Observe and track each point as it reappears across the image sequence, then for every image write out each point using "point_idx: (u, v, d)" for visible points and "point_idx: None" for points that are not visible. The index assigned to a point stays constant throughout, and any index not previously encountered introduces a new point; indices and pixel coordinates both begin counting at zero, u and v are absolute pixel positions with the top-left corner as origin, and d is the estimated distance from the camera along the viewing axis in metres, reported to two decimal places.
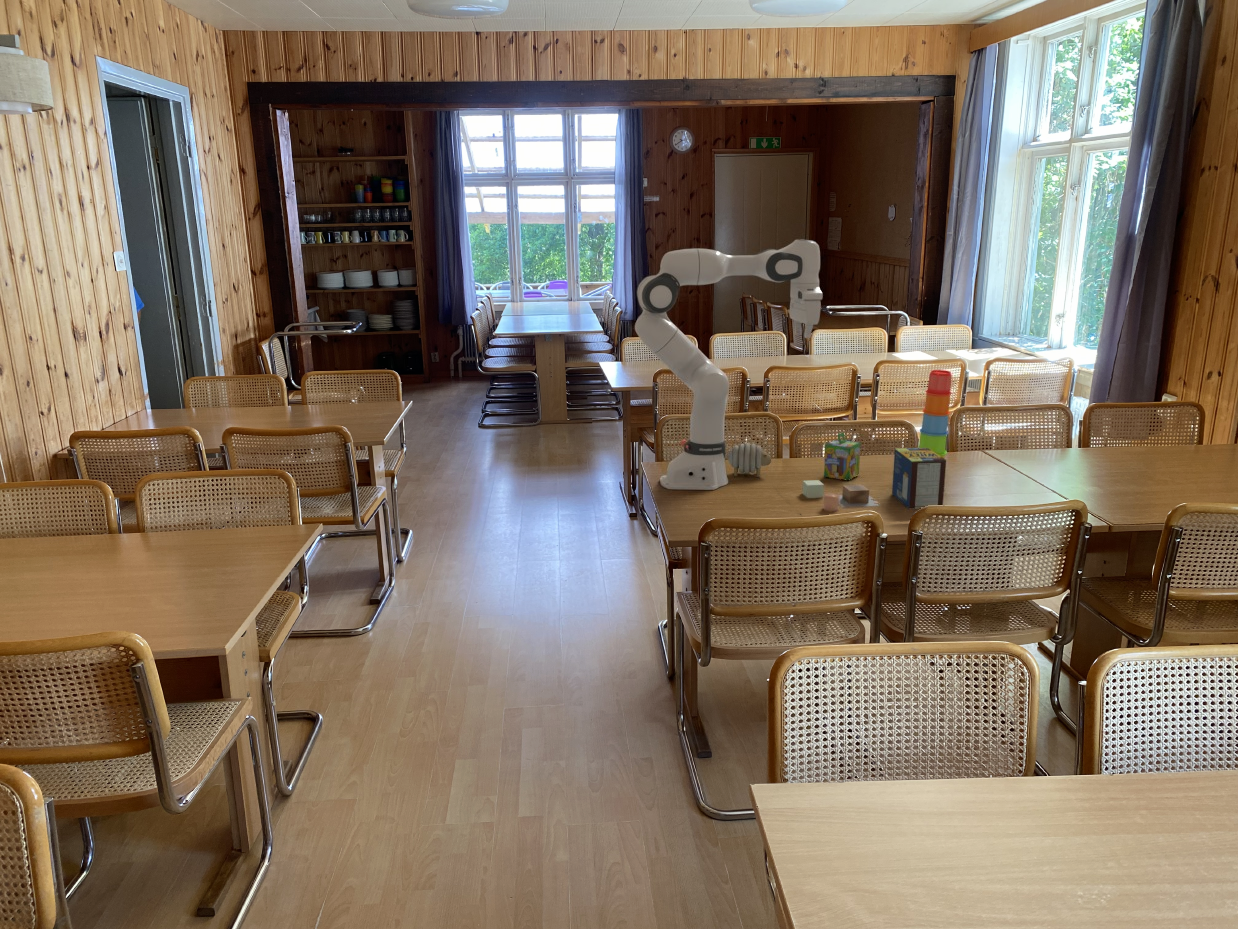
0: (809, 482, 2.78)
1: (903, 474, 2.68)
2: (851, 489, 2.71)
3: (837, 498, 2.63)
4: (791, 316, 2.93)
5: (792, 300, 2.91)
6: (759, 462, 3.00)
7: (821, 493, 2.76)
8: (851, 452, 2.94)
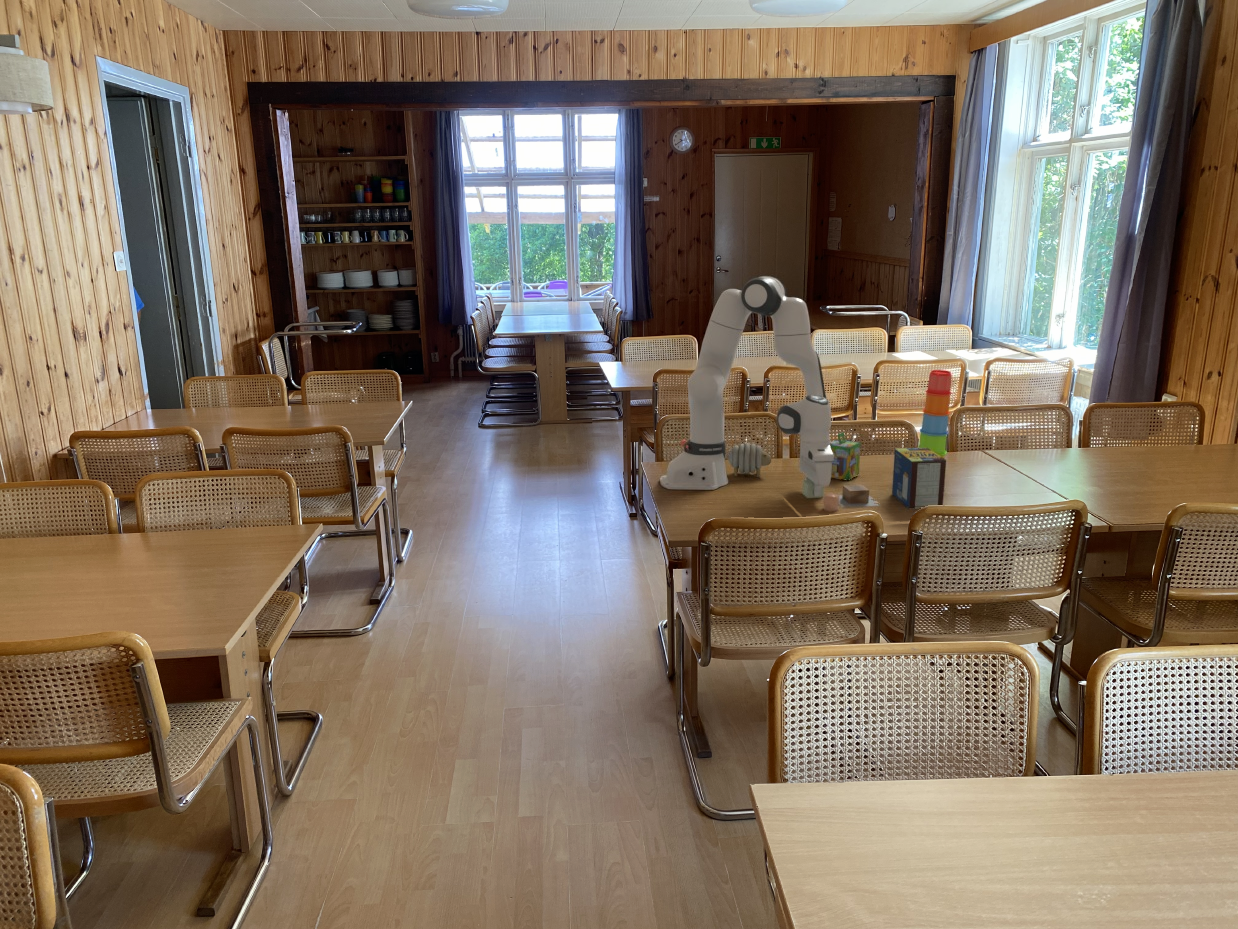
0: (809, 482, 2.78)
1: (903, 474, 2.68)
2: (851, 489, 2.71)
3: (837, 498, 2.63)
4: (801, 469, 2.84)
5: None
6: (759, 462, 3.00)
7: (821, 493, 2.76)
8: (851, 452, 2.94)
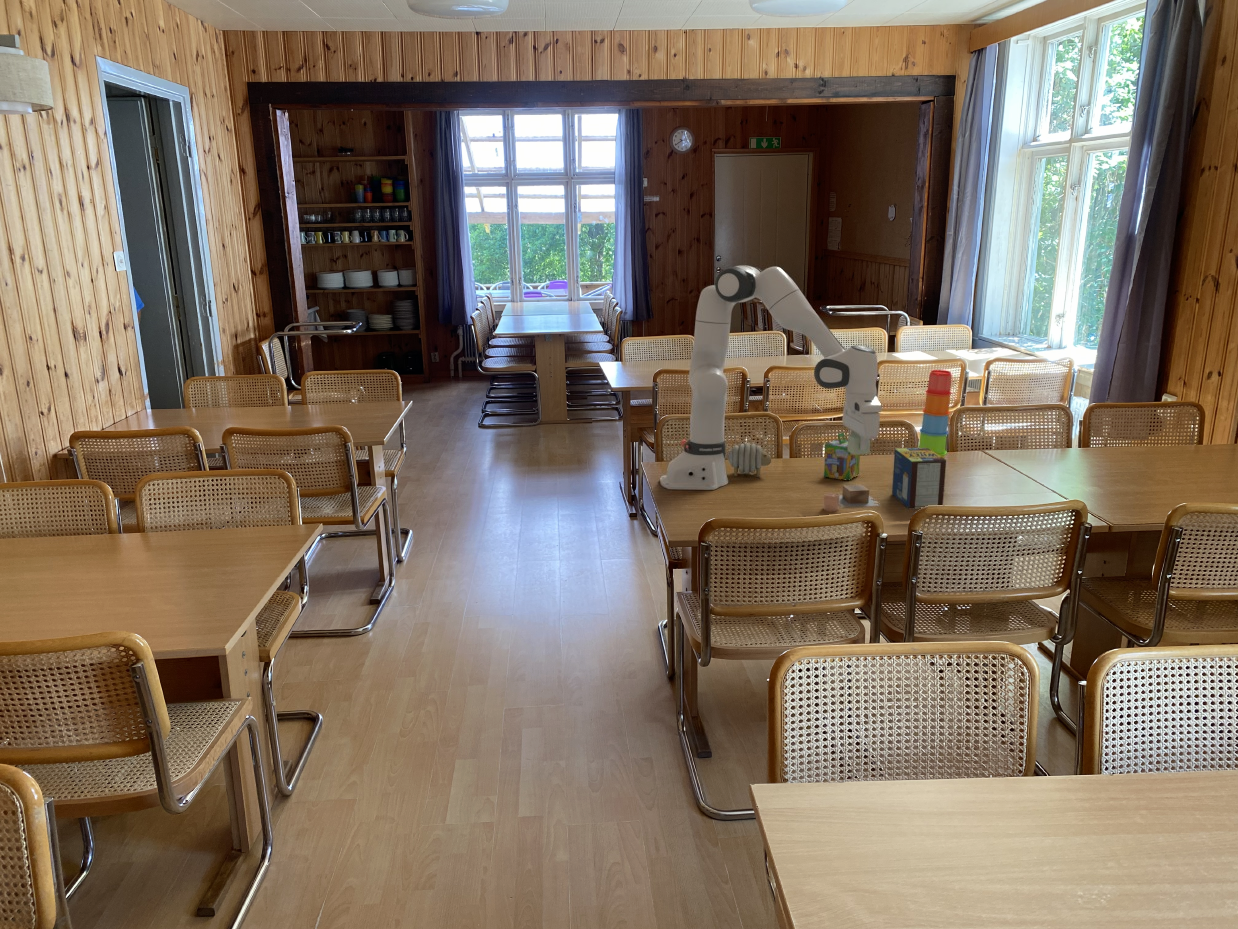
0: (855, 435, 2.68)
1: (903, 474, 2.68)
2: (851, 489, 2.71)
3: (837, 498, 2.63)
4: (845, 423, 2.74)
5: (846, 407, 2.72)
6: (759, 462, 3.00)
7: (868, 446, 2.67)
8: None
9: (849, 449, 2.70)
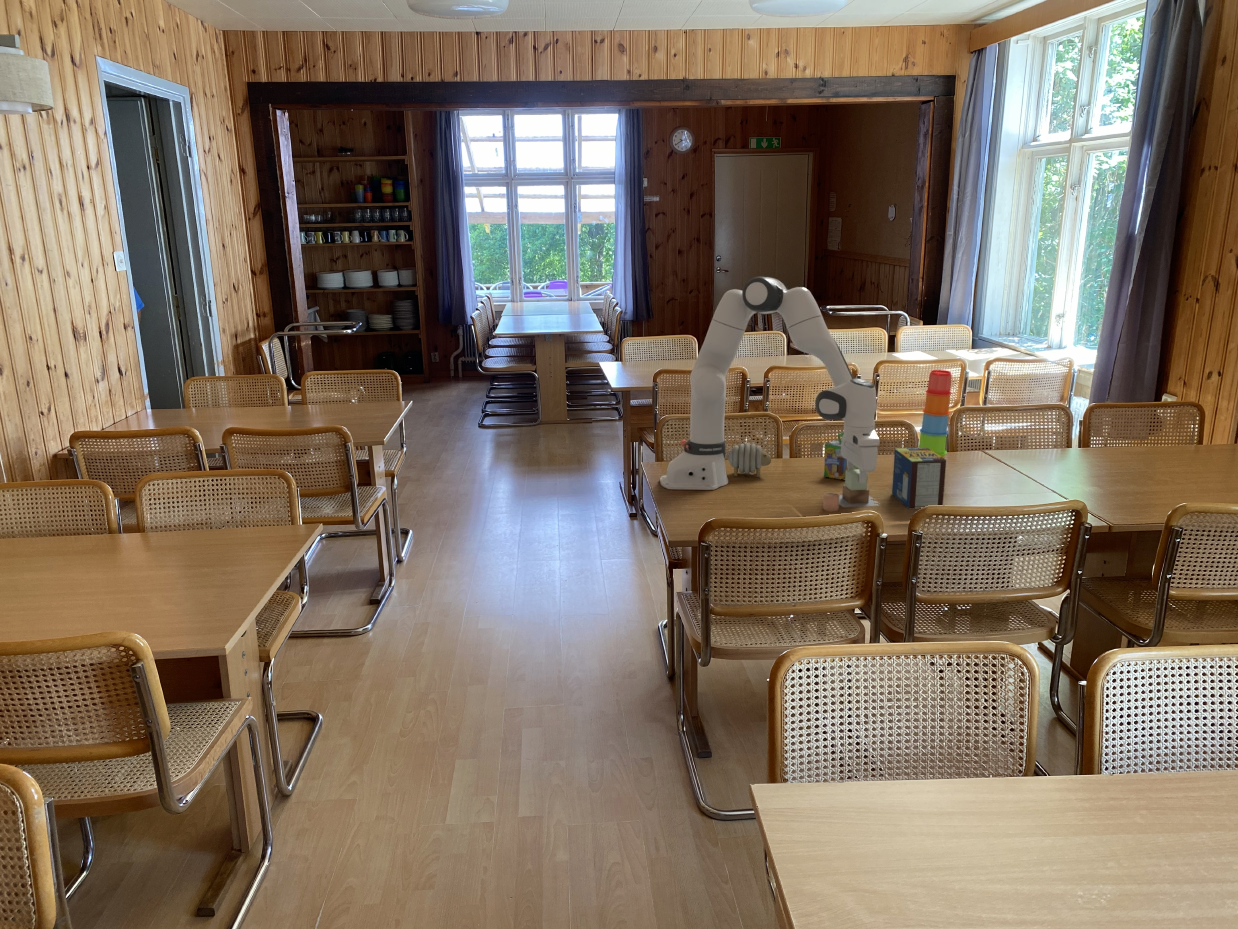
0: (852, 471, 2.71)
1: (903, 474, 2.68)
2: None
3: (837, 498, 2.63)
4: (843, 455, 2.77)
5: None
6: (759, 462, 3.00)
7: (865, 482, 2.70)
8: None
9: (846, 484, 2.73)
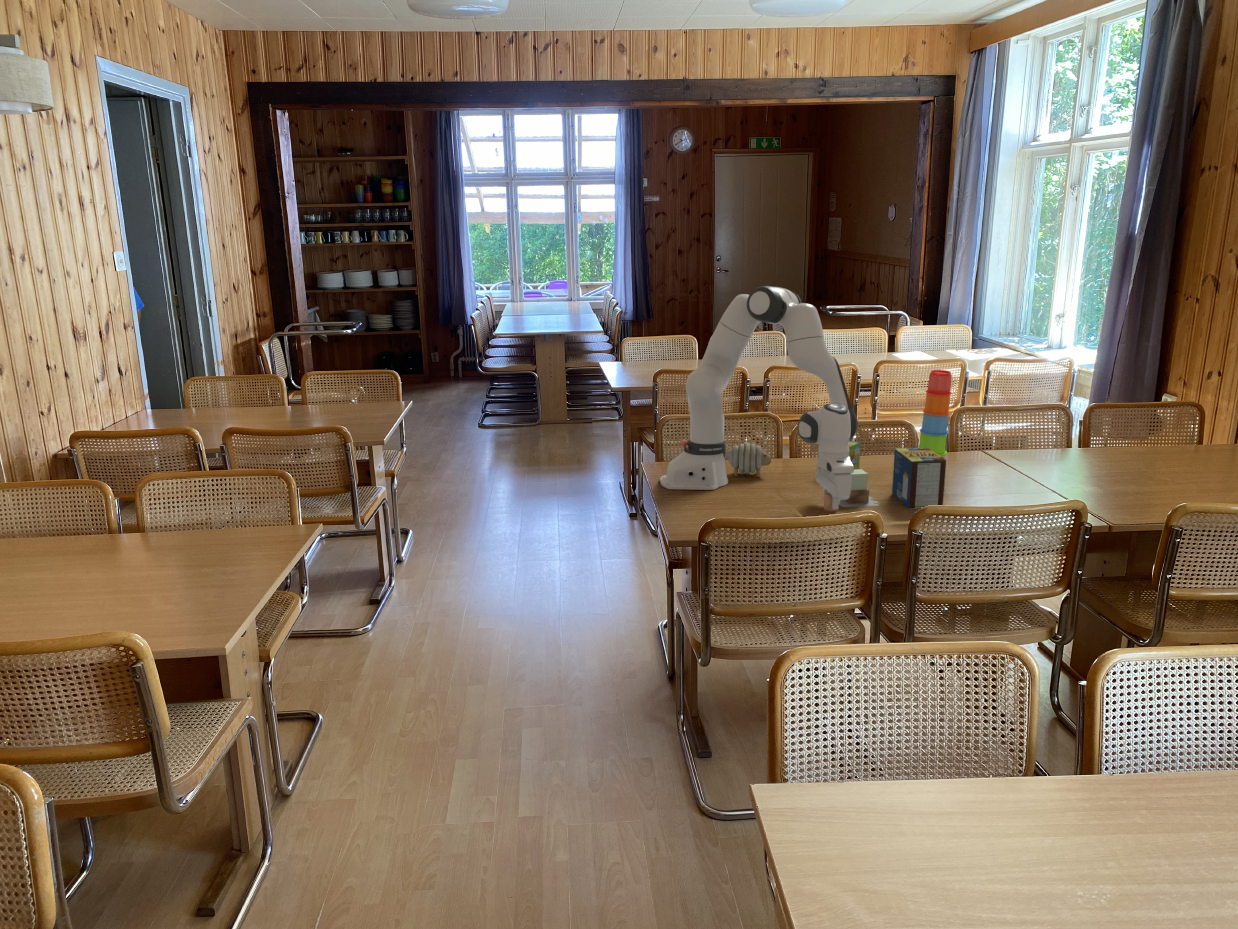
0: None
1: (903, 474, 2.68)
2: None
3: None
4: (818, 481, 2.71)
5: None
6: (759, 462, 3.00)
7: (865, 482, 2.70)
8: (851, 452, 2.94)
9: None
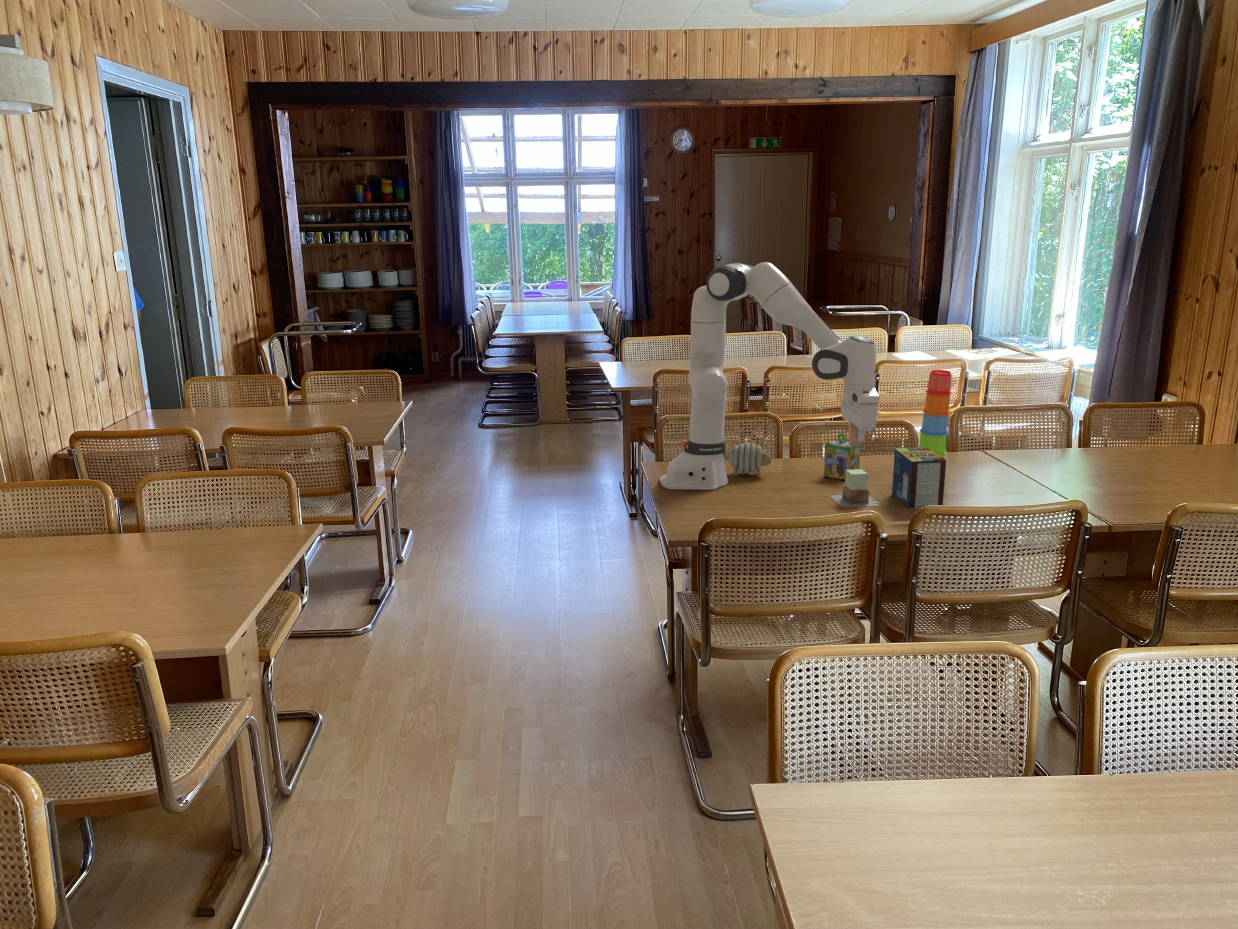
0: (852, 471, 2.71)
1: (903, 474, 2.68)
2: None
3: None
4: (843, 415, 2.72)
5: (844, 398, 2.71)
6: (759, 462, 3.00)
7: (865, 482, 2.70)
8: (851, 452, 2.94)
9: (846, 484, 2.73)
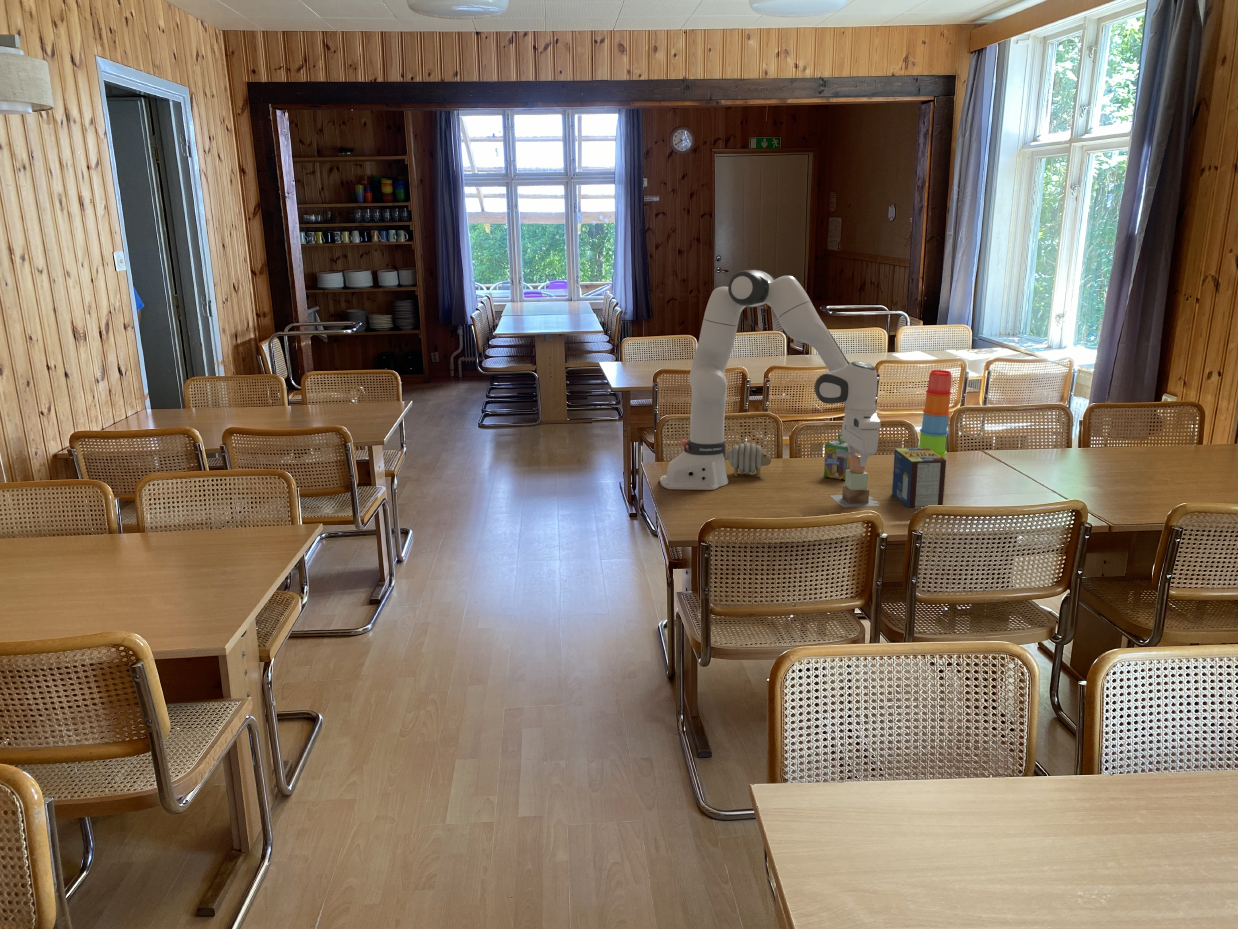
0: None
1: (903, 474, 2.68)
2: None
3: None
4: (844, 439, 2.75)
5: (845, 422, 2.74)
6: (759, 462, 3.00)
7: (865, 482, 2.70)
8: None
9: (846, 484, 2.73)
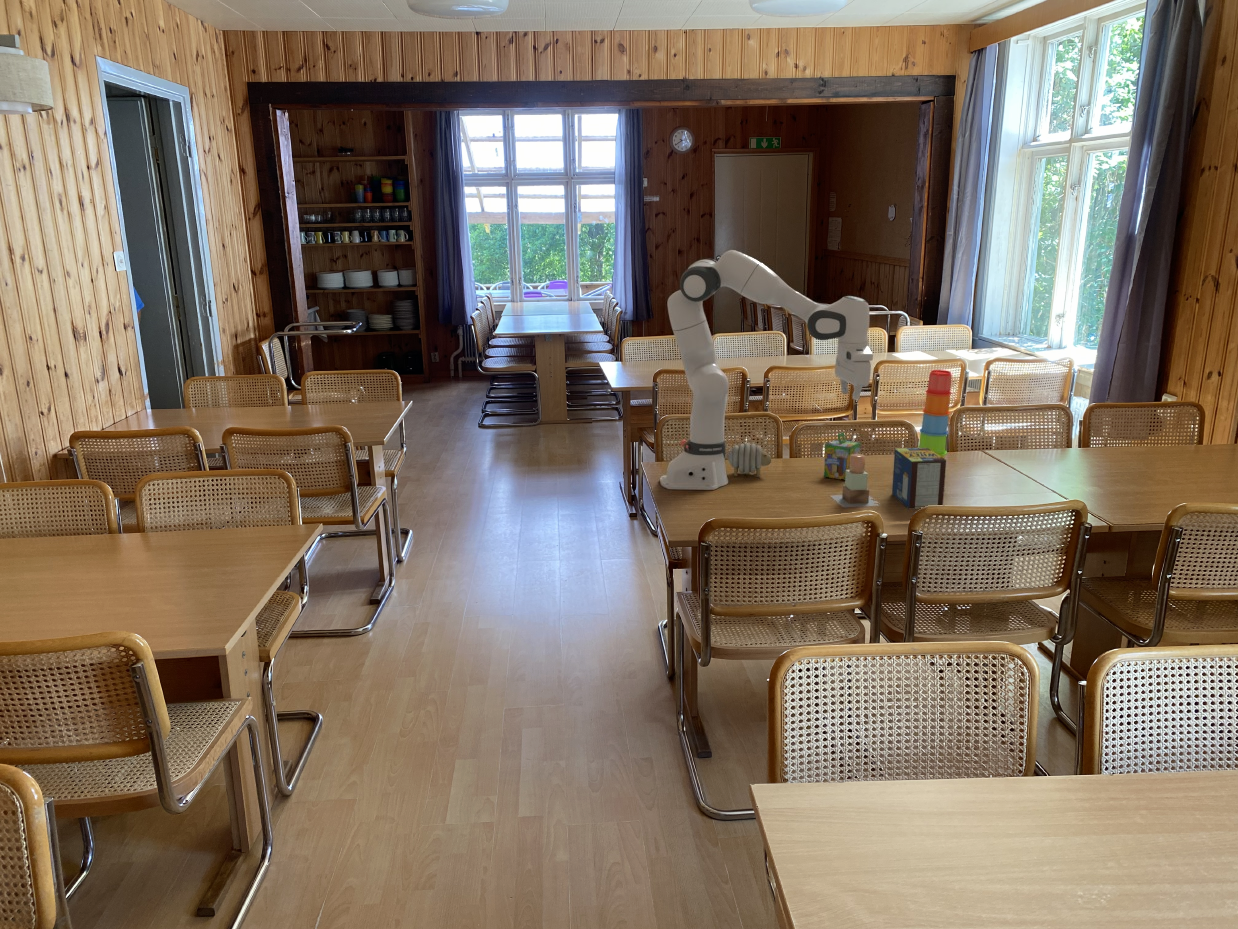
0: None
1: (903, 474, 2.68)
2: None
3: (863, 458, 2.68)
4: (837, 374, 2.79)
5: (838, 358, 2.78)
6: (759, 462, 3.00)
7: (865, 482, 2.70)
8: (851, 452, 2.94)
9: (846, 484, 2.73)
